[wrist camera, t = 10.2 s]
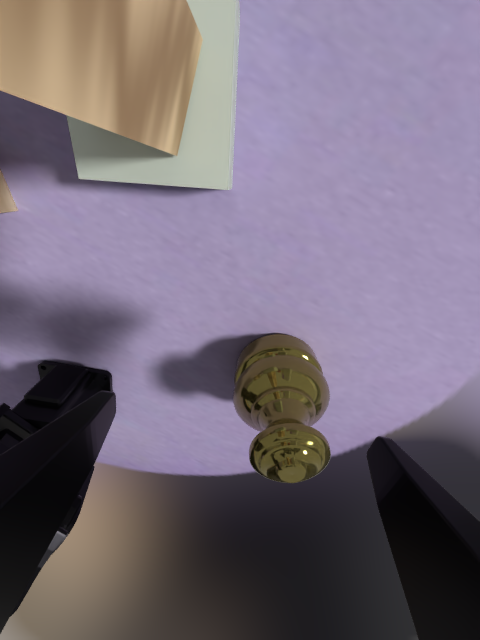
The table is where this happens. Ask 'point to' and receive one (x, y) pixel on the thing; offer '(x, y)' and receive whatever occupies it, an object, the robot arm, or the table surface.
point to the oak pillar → (104, 62)
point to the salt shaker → (282, 407)
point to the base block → (200, 123)
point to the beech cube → (6, 197)
